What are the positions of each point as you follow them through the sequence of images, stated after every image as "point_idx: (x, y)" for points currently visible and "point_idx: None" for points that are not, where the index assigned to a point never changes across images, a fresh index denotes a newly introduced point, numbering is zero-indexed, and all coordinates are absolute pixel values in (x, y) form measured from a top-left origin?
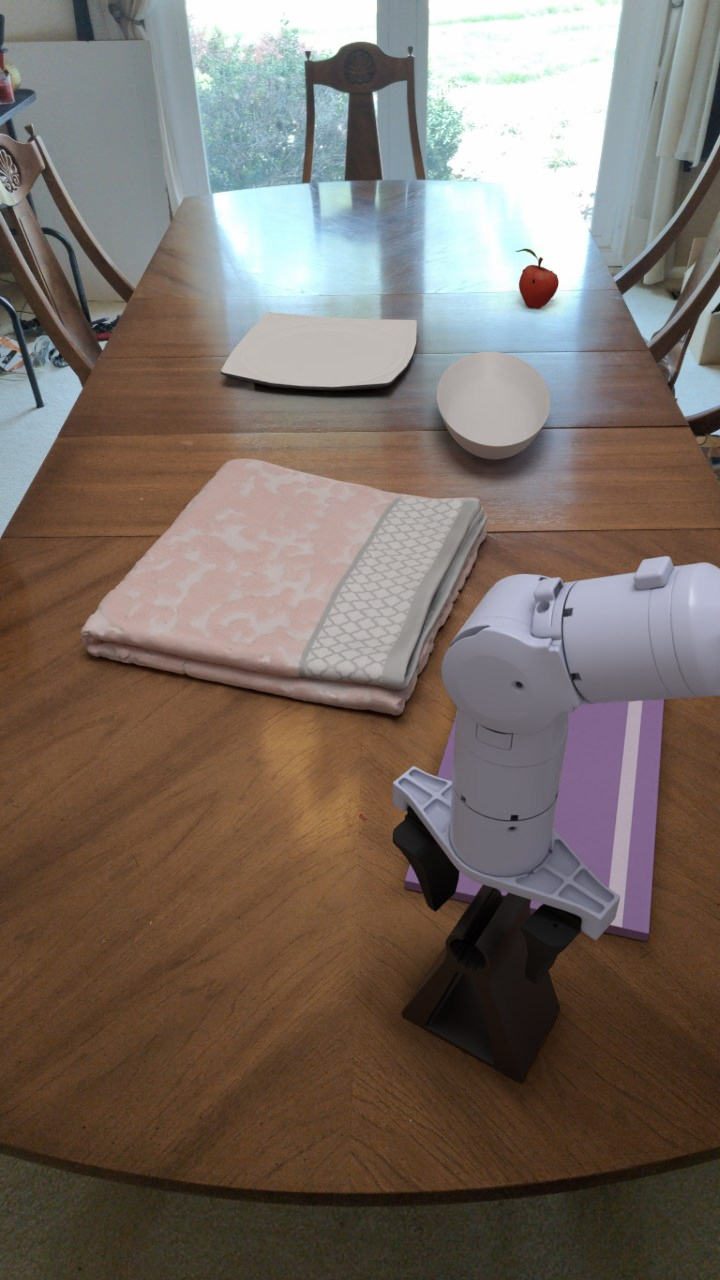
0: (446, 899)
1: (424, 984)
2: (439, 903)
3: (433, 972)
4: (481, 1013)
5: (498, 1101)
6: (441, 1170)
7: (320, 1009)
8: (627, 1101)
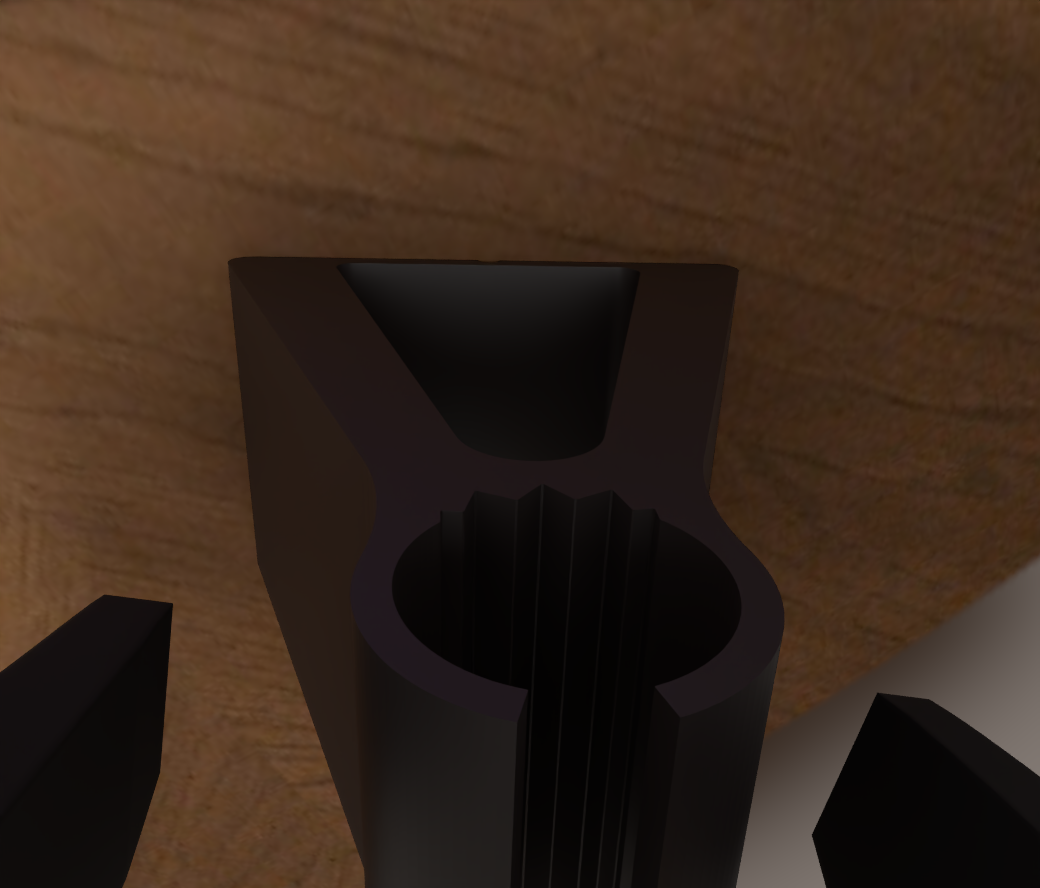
0: (159, 696)
1: (312, 719)
2: (145, 780)
3: (326, 736)
4: (492, 426)
5: None
6: None
7: None
8: (995, 432)
